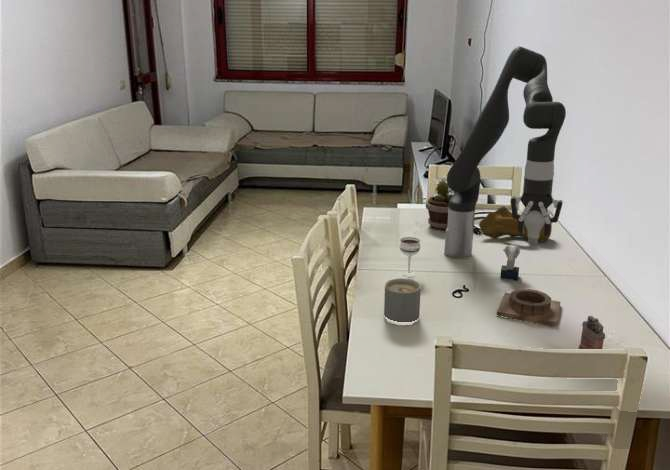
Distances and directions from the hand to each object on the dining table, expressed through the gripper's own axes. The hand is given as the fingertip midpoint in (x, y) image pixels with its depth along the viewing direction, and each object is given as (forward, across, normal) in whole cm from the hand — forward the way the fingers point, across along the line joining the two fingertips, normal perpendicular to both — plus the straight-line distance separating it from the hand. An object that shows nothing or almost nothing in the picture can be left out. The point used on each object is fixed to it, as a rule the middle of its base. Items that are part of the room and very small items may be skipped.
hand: (533, 234), depth 167 cm
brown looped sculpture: (+22, -11, +60) cm, 65 cm away
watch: (+22, -8, +20) cm, 31 cm away
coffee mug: (+22, -33, -19) cm, 44 cm away
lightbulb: (+4, 0, 0) cm, 4 cm away
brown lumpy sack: (+23, +17, -22) cm, 37 cm away
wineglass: (+22, -39, +10) cm, 46 cm away
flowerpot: (+21, -40, +63) cm, 77 cm away
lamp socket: (+23, +1, -3) cm, 23 cm away
